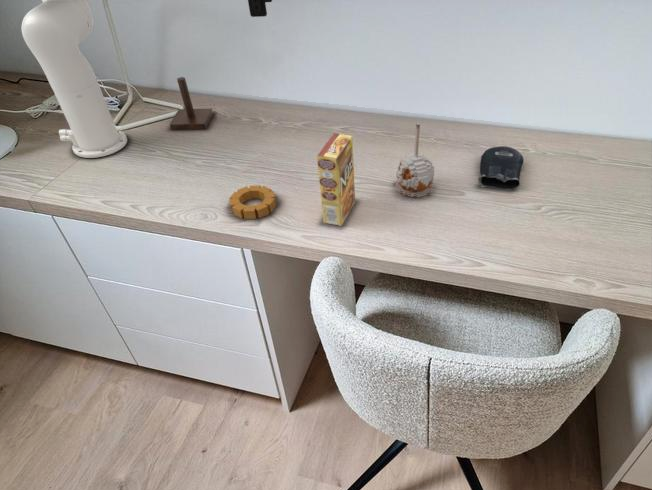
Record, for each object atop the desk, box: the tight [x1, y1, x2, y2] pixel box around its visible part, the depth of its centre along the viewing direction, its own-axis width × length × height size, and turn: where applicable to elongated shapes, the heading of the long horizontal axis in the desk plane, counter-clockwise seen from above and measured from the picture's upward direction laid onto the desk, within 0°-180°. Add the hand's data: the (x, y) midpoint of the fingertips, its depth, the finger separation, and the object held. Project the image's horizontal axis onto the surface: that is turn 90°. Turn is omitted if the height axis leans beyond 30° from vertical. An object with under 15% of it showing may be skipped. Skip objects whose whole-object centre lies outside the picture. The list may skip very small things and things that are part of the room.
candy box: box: [316, 132, 356, 227], centre depth 95 cm, size 9×4×15 cm, turn 162°
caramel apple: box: [395, 122, 435, 198], centre depth 101 cm, size 8×8×15 cm
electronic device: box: [477, 145, 524, 191], centre depth 110 cm, size 9×6×15 cm
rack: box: [169, 76, 214, 131], centre depth 127 cm, size 9×9×12 cm
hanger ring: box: [228, 184, 277, 220], centre depth 102 cm, size 9×9×2 cm
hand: (262, 8), depth 101 cm, fingers open, 9 cm apart
